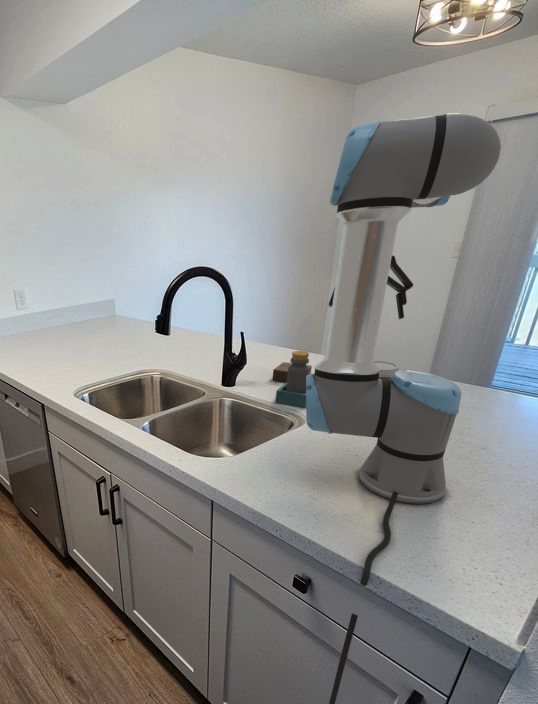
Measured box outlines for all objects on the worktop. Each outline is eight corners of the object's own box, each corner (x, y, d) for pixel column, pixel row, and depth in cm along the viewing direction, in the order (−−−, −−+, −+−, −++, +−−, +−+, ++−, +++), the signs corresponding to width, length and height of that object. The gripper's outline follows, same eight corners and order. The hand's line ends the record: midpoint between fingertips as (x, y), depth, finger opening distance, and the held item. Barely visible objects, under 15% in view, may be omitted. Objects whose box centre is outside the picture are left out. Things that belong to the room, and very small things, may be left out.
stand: (301, 385, 146) (302, 373, 144) (272, 380, 151) (273, 369, 149) (310, 376, 153) (311, 365, 151) (282, 372, 158) (283, 361, 156)
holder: (304, 408, 129) (306, 395, 127) (275, 402, 134) (276, 390, 132) (313, 398, 135) (315, 386, 133) (285, 393, 140) (286, 381, 138)
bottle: (307, 403, 132) (314, 355, 125) (287, 404, 132) (293, 356, 125) (301, 396, 137) (307, 349, 130) (282, 397, 137) (287, 350, 130)
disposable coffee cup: (395, 411, 123) (405, 370, 118) (359, 410, 125) (367, 370, 120) (385, 398, 131) (394, 360, 126) (351, 398, 133) (358, 360, 128)
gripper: (413, 235, 116) (422, 315, 117) (312, 262, 125) (322, 335, 126) (420, 226, 109) (430, 310, 110) (313, 254, 118) (324, 332, 119)
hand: (372, 324), depth 118 cm, fingers open, 13 cm apart
